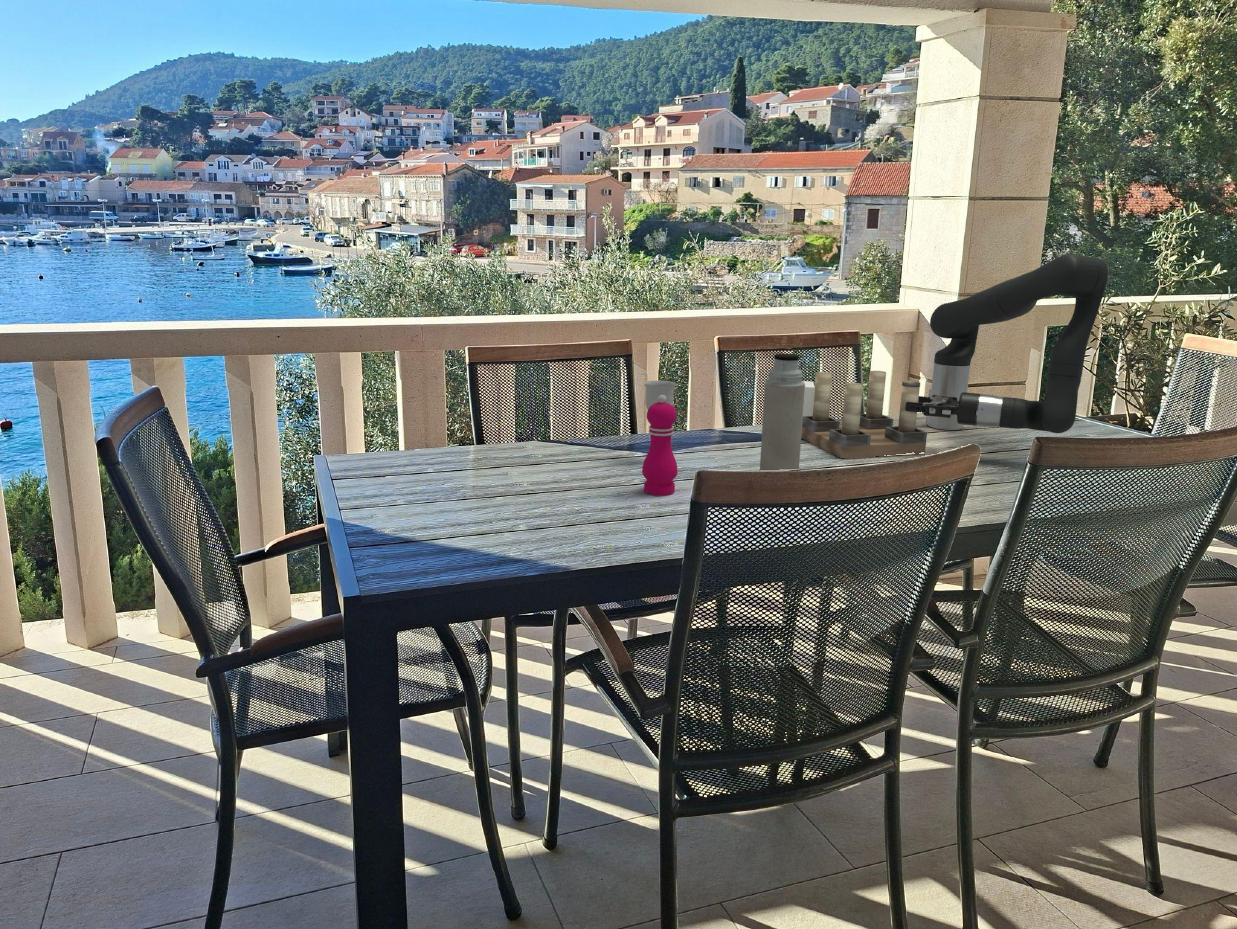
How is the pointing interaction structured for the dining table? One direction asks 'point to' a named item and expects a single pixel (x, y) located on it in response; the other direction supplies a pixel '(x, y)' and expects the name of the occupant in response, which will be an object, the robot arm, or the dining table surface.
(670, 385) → the chalice
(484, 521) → the dining table surface
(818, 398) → the stool seat
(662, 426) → the pepper mill
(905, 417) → the loose leg
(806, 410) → the base with upright slab
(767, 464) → the thermos bottle
